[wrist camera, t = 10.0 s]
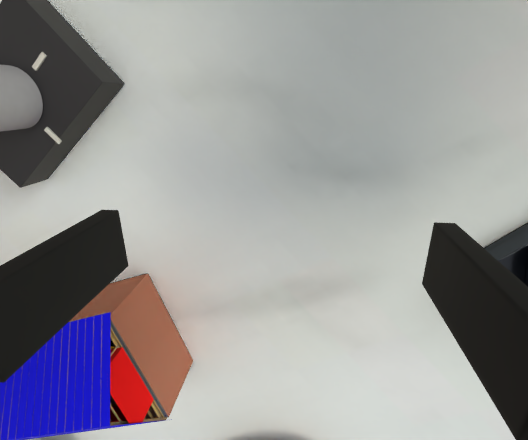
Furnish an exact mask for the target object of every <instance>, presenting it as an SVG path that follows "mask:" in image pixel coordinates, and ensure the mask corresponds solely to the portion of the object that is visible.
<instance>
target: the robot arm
mask: <svg viewBox="0 0 528 440" xmlns="http://www.w3.org/2000/svg"><path fill="white" fill-rule="evenodd" d="M126 267H128V261H127V256H126V250H125V245H124V239H123V234H122V228H121V223H120V217H119V212H118V210H101V211H99V212H97V213H95V214H94V215H92V216H90V217H88V218H86V219H85V220H83V221H81V222H79V223H77V224H75V225H74V226H72V227H70V228H68V229H66V230H65V231H63V232H61V233H59V234H57V235H55V236H54V237H52V238H50V239H48V240H46V241H45V242H43V243H41V244H39V245H37V246H35V247H34V248H32V249H30V250H28V251H26V252H25V253H23V254H21V255H19V256H17V257H15V258H14V259H12V260H10V261H8V262H6V263H5V264H3V265H1V266H0V382H3V383H4V382H5V381H6V380H7V379H8V378H9V377H10V376H12V375H13V374H14V373H15V372H16V371H17V370H18V369H19V368H20V367H21V366H22V365H23V364H24V363H25V362H26V361H27V360H29V359H30V358H31V357H32V356H33V355H34V354H35V353H36V352H37V351H38V350H39V349H40V348H41V347H42V346H43V345H45V344H46V343H47V342H48V341H49V340H50V339H51V338H52V337H53V336H54V335H55V334H56V333H57V332H58V331H59V330H60V329H62V328H63V327H64V326H65V325H66V324H67V323H68V322H69V321H70V320H71V319H72V318H73V317H74V316H75V315H76V314H78V313H79V312H80V311H81V310H82V309H83V308H84V307H85V306H86V305H87V304H88V303H89V302H90V301H91V300H92V299H93V298H95V297H96V296H97V295H98V294H99V293H100V292H101V291H102V290H103V289H104V288H105V287H106V286H107V285H108V284H109V283H111V282H112V281H113V280H114V279H115V278H116V277H117V276H118V275H119V274H120V273H121V272H122V271H123V270H124V269H125V268H126ZM422 284H423V286H424V288H425V289H426V291H427V293H428V294H429V296H430V298H431V299H432V301H433V303H434V304H435V306H436V308H437V309H438V311H439V313H440V314H441V316H442V318H443V319H444V321H445V323H446V324H447V326H448V328H449V329H450V331H451V333H452V334H453V336H454V338H455V339H456V341H457V343H458V344H459V346H460V348H461V349H462V351H463V352H464V354H465V356H466V357H467V359H468V361H469V362H470V364H471V366H472V367H473V369H474V371H475V372H476V374H477V376H478V377H479V379H480V381H481V382H482V384H483V386H484V387H485V389H486V391H487V392H488V394H489V396H490V397H491V399H492V401H493V402H494V404H495V406H496V407H497V409H498V411H499V412H500V414H501V416H502V417H503V419H504V421H505V422H506V424H507V426H508V427H509V429H510V431H511V432H512V434H513V436H514V437H515V439H516V440H528V286H526V285H525V284H524V283H523V282H522V281H521V280H520V279H518V278H517V277H516V276H515V275H514V274H513V273H511V272H510V271H509V270H508V269H507V268H506V267H505V266H503V265H502V264H501V263H500V262H499V261H498V260H497V259H495V258H494V257H493V256H492V255H491V254H490V253H489V252H487V251H486V250H485V249H484V248H483V247H482V246H481V245H479V244H478V243H477V242H476V241H475V240H474V239H473V238H471V237H470V236H469V235H468V234H467V233H466V232H464V231H463V230H462V229H461V228H460V227H459V226H458V225H456V224H455V223H434V226H433V231H432V236H431V241H430V246H429V251H428V257H427V262H426V267H425V272H424V277H423V282H422Z"/></svg>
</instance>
